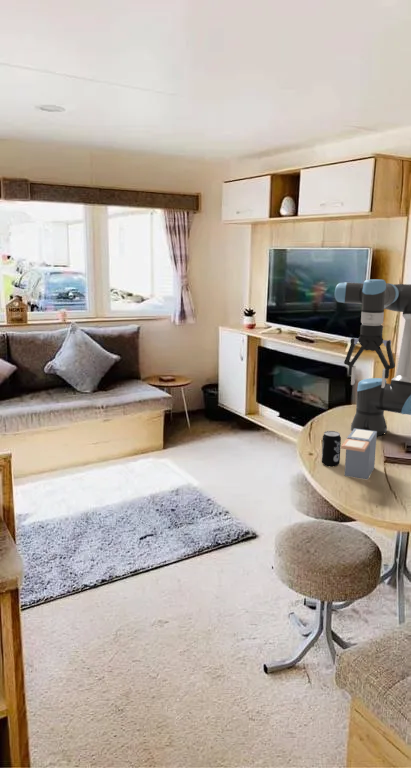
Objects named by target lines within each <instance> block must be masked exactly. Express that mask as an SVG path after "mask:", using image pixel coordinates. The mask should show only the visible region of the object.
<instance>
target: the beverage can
mask: <svg viewBox="0 0 411 768" xmlns="http://www.w3.org/2000/svg"><path fill="white" fill-rule="evenodd" d="M321 443H322V445H321V463H322V465H324V466H326V467H329V466H330V468H331V467H332V468H334V467H337V466H339V464H340V462H341V461H340V460H341V446H342V444H341V443H342V438H341V433H340V432H339V431H335V430H327V431H324V432H323V435H322V441H321ZM333 466H334V467H333Z"/></svg>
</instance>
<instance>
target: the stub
mask: <svg viewBox="0 0 411 768" xmlns="http://www.w3.org/2000/svg"><path fill="white" fill-rule="evenodd" d="M368 446H369V442H367V441H360V440H353V439H347V438H346V439H345V440H344V442H343V443H342V444H341V447H340V450H341V449H342V450H346V449H347V450H354V451H360V452H365V450H366V449H367V447H368Z"/></svg>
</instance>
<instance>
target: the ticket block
mask: <svg viewBox="0 0 411 768" xmlns="http://www.w3.org/2000/svg"><path fill="white" fill-rule="evenodd" d="M346 439H353V440H360V441H367V442H369V446H368V447H367V449H366V450H365V452H360V451H354V450H347V449H345V461H344V462H345V463H344V476H345V477H350V478H355V479H361V480H367V481H368V480H369V479H370V476H371V474H372V473H373V471H374V469H375V464H376V463H375V462H376V449H377V431H370V430H363V429H355V428H354V429H353V431H352V430H351V432H350V433H349V434H348V436H347V437H346Z"/></svg>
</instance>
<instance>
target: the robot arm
mask: <svg viewBox="0 0 411 768" xmlns="http://www.w3.org/2000/svg"><path fill="white" fill-rule="evenodd" d="M334 289H335V290H334V298H335V301H336V302H337V303H343V304H359V305H361V314H360V315H361V317H360V323H361V325H360V331H359V333H360V334H359V337H358V338H357V337H352V338H351V339H350V345H349V348H348V351H347V354H346V357H345V358H344V359H345V360H344V362H343V365H347V366H348V375H349V376H351V378H350V380H351V381H350V385H351V386H353V385H355V384H356V383H355V381H356V370H357V369H356V365H355V363H356V362H357V361H358V359H359V358H360V356H361V355H362V353H363V352H364V351H371V352H374V351H375V353H376V354H377V355H378V358H379V361H381V364H382V366H383V367H384V368H383V369H382V377H380V378H379V377H374V378H373V377H371V378H365V379H362V380H360V381H358V383H357V390H356V407H355V413H354V416H353V418H352V422H351V424H350V430H351V432H352V431H353V429H354V428H355V429H363V430H370V431H377V436H383V435H382V434H384V433H386V434H387V430H388V429H387V428H388V426H387V422H386V418H385V414H384V413H385V412H390V413H396V414H402V415H410V416H411V284H409V283H408V284H407V283H406V284H404V283H403V284H402V283H395V284H392V283H386V280H385V279H375V278H374V279H372V278H371V279H366V280H364V281H363V283H362V282H339V283H338V284H336V286H335V288H334ZM385 310H389V311H393V312H398V313H399V312H400V313H402V314H401V315H402V317H403V319H404V325H403V326H404V327H403V330H402V331H403V332H402V338H401V345H400V351H399V357H398V361H397V368H396V375H395V377H393V378H391V380H390V383H387V380H386V379H389V377H390V370H391V369H394V368H395V367H396V364H395V360H394V355H393V350H392V340H391V339H388V340H387V339H386V340H385V339H384V338H383V332H384V331H383V328H384V326H383V325H382V324H383V323H384V314H385ZM358 343H359V344H360V348H359V349H358V351H357V352H356V353H355V355H354V357H353V358H352V355H353V352H354V350H355V347H356V345H357V344H358ZM382 345H384V347H385V349H386V353H387V357H388V358H387V359H388V361H387V359H386V357H385V355H384V353H383V351H382V348H381V346H382ZM351 358H352V359H351ZM388 362H389V363H388ZM384 435H385V434H384Z"/></svg>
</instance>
